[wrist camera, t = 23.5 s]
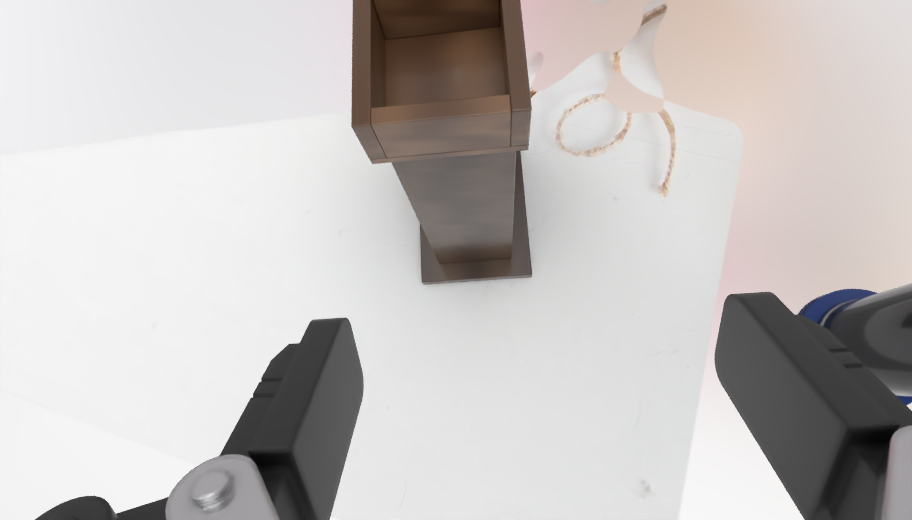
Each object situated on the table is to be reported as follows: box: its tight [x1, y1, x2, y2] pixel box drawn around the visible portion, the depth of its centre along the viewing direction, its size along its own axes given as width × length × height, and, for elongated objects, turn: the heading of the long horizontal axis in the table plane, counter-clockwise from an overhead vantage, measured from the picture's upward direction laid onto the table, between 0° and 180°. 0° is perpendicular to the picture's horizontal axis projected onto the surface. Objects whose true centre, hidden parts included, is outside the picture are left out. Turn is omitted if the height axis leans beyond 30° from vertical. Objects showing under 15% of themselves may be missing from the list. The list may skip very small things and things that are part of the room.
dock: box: [352, 0, 532, 164], centre depth 29 cm, size 9×17×4 cm, turn 3°
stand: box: [391, 151, 532, 284], centre depth 44 cm, size 12×18×28 cm, turn 3°
